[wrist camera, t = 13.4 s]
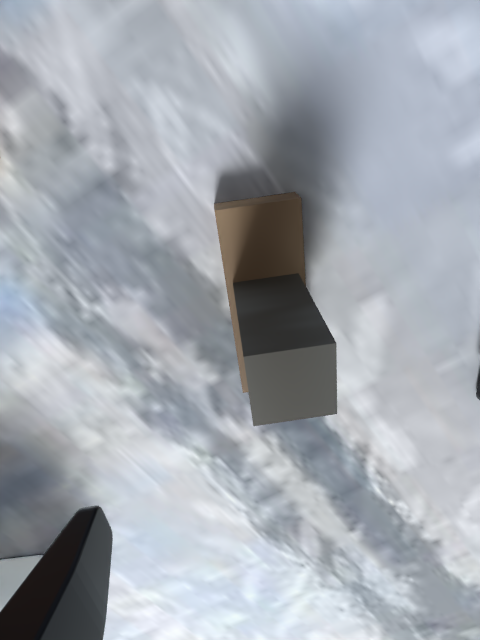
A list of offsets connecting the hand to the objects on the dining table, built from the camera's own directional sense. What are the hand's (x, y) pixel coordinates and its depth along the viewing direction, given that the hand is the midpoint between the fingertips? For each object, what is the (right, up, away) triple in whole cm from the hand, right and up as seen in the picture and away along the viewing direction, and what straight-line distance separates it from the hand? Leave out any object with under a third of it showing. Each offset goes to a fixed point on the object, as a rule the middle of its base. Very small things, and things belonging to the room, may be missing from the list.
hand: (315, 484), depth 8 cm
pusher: (-1, +5, +8) cm, 10 cm away
